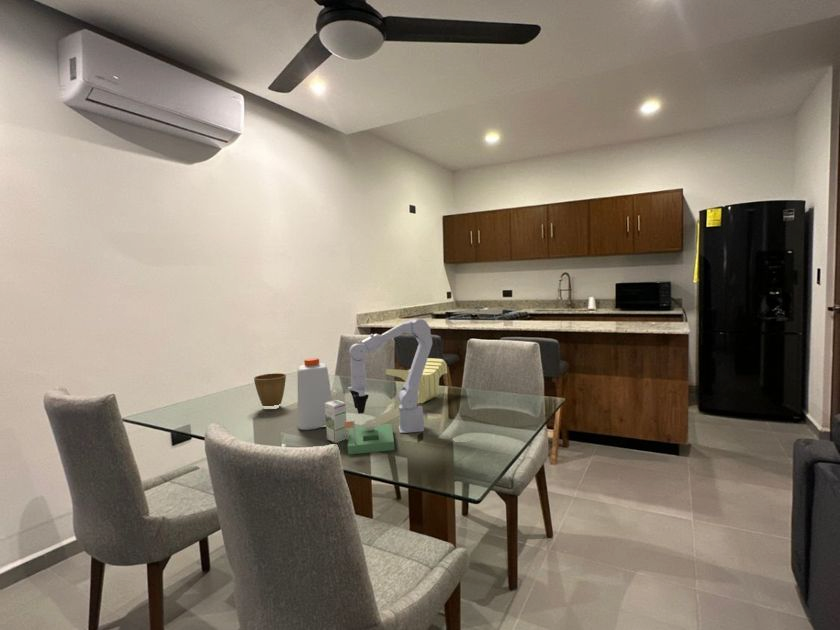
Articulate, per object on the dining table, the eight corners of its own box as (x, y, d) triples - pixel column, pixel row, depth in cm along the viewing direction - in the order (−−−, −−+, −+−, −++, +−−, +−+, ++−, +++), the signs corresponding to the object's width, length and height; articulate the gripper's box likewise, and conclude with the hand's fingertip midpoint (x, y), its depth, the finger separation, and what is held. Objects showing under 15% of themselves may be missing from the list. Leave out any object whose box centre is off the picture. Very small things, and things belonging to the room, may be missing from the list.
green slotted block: (391, 431, 175) (389, 403, 174) (394, 449, 155) (392, 419, 154) (348, 435, 173) (346, 407, 172) (346, 454, 153) (343, 423, 152)
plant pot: (268, 414, 209) (265, 380, 207) (250, 410, 218) (247, 377, 217) (294, 406, 220) (292, 374, 219) (276, 402, 229) (274, 371, 228)
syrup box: (347, 439, 169) (346, 402, 167) (334, 443, 164) (333, 405, 163) (338, 435, 172) (337, 399, 171) (325, 439, 168) (324, 402, 166)
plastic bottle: (298, 432, 180) (292, 363, 178) (298, 421, 194) (293, 358, 192) (336, 427, 184) (331, 360, 182) (333, 416, 198) (328, 354, 196)
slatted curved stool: (415, 409, 203) (413, 370, 202) (388, 405, 212) (385, 368, 210) (448, 393, 228) (446, 359, 227) (422, 390, 237) (420, 357, 235)
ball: (375, 428, 170) (375, 418, 170) (376, 431, 166) (375, 421, 166) (365, 429, 169) (364, 419, 169) (365, 432, 165) (364, 422, 165)
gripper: (345, 372, 175) (346, 406, 176) (350, 379, 161) (351, 416, 162) (363, 371, 177) (364, 404, 178) (369, 378, 163) (370, 414, 164)
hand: (359, 410), depth 170 cm, fingers open, 7 cm apart
